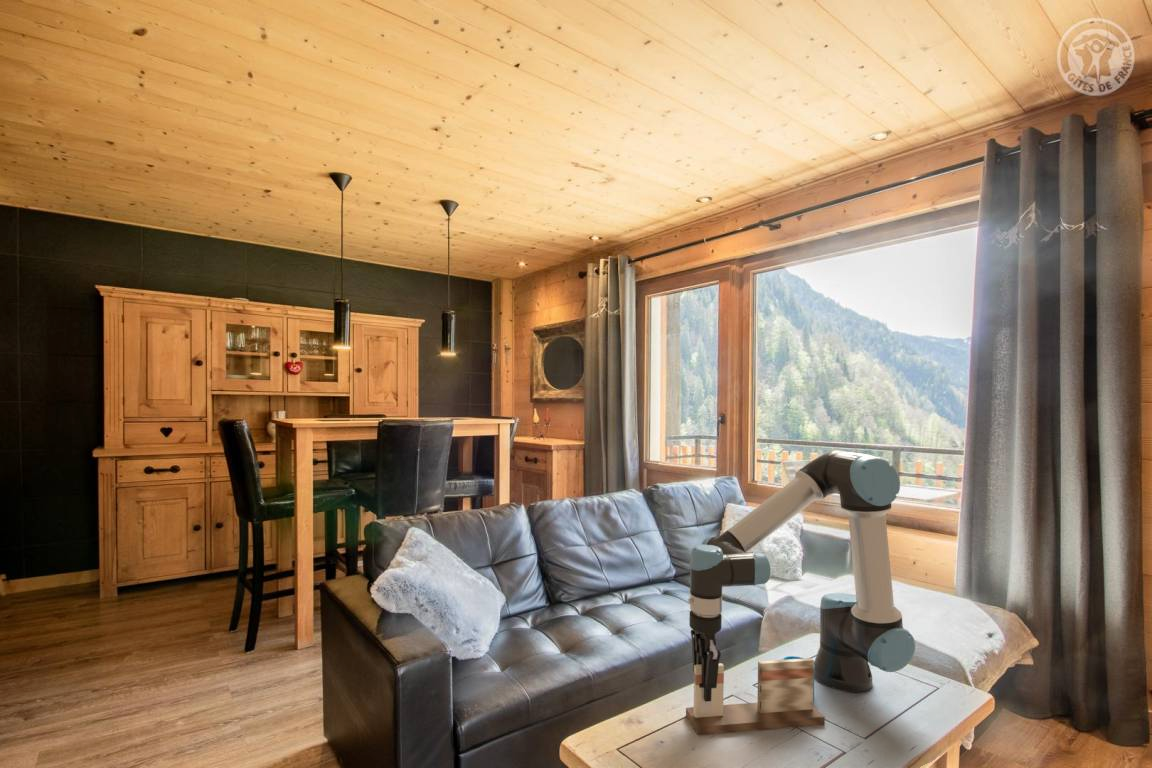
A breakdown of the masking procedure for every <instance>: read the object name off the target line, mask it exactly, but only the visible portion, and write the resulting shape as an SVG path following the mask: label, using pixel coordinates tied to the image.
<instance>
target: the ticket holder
mask: <svg viewBox="0 0 1152 768" xmlns="http://www.w3.org/2000/svg"><path fill="white" fill-rule="evenodd" d="M814 661H815V660H814V659H813V658H812V657H809V658H807V657H806V658H805V659H789V660H782V659H778V660H777V659H775V660H760V661H757V701H756V702H746V703H732V704H723V716H713V717H700V718H695V717H694V715H693V712H694V706H692V707H690V706H689V707H685V717H686V718H687V720H688V722H689V723H690V725H691V727H692V729H693V730H694V732H695V733H696V735H697V736H706V735H707V736H708V735H721V734H722V735H723V734H731V733H733V734H734V733H744V732H758V731H769V730H770V731H771V730H781V729H791V728H792V729H794V728H804V727H805V728H807V727H815V726H817V727H818V726H825V724H826V721H825V720H826V718H825V717H826V716H825V715H823V714H822V712H821V711H819V709H817V708H816V707H815V706H814V699H813V678H814V679H815V677H814Z"/></svg>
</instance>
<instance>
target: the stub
mask: <svg viewBox="0 0 1152 768" xmlns="http://www.w3.org/2000/svg"><path fill="white" fill-rule="evenodd" d="M724 672H725V666H724V663H721V662H719V666H718V676H717V687H716V688H712V713H706V714H701V713H700V687H699V684H702V664H701V665H694V672H693V707H694V712H693V715H694V717H695V718H700V717H713V716H723V705H724V691H725V690H724V685H725V679H724V677H725V676H724V675H725V673H724Z"/></svg>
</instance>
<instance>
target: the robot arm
mask: <svg viewBox="0 0 1152 768" xmlns="http://www.w3.org/2000/svg"><path fill="white" fill-rule="evenodd" d="M794 477H795V478H793V479H792V480H791V481H790V482H788V483H787V484H785V486H783V487H782V488H780V489H779V490H778V491H776V492H775V493H774V494H773V495H771V496H770V497H769V498H767V499H766V500H765V501H764V502H762V503H761V504H759V505H758V506H757V507H755V508H754V509H753V510H752V511H751V512H749V513H748V514H746V515H745V516H744V517H743V518H741V519H740V520H739V521H737V522H736V523H735V524H733V526H731V527H729V529H727V530H726V531H725V532H723V533H722V534H720V535H709V536H707V537H705V539H703V541H702V542H701V544H697V545H695V546H693V547H692V548H691V550H690V562H689V568H690V569H689V581H690V583H689V585H690V586H689V598H688V599H687V601H688V603H689V609H690V611H689V618H688V619H689V622H688V623H689V624H688V625H689V627H690V629H691V630H690V636H691V647H692V648H691V649H692V652H691V653H692V671H693V673H694V665H701V664H702V684H699V687H700V713H701V714H706V713H712V688H716V687H717V676H718V666H719V663H720V658H721V655H722V654H721V650H717V649H716V646H717V639H716V634H717V633H719V632H720V631H721V630H722V622H723V621H722V620H723V619H722V612H723V588H724V587H742V586H743V587H744V586H754V587H755V586H758V585H764V584H767V583H768V582H769V580H770V578H771V571H772V570H771V564H770V561H769V558H768V557H767V555H766V554H765V553H763V552H756V551H752V552H750V551H751V550H752V549H753V548H756V546H757V545H759V544H760V543H762V542H763V541H764V540H765V539H767V538H768V537H769V536H771V535H772V534H773V533H774V532H775V531H777V530H778V529H779V528H781V527H782V526H783V525H785V524H786V523H788V521H790V520H791V519H793V517H795V516H796V515H797V514H799V513H800V512H802V511H803V510H804V509H805V508H807V507H808V506H810V505H811V504H812V503H813V502H815V501H817V502H818V501H820V502H821V501H822V500H824V499H825V498H826V497H827V496H830V495H833V494H837V495H839V500H840V508H841V509H842V511H844V512H846V513H847V517H848V526H849V536H850V546H851V547H850V548H851V558H852V560H851V561H852V569H853V578H854V579H853V580H854V588H855V589H854V590H855V591H854V592H855V594H852V593H843V592H833V593H826V594H824V595H823V596H822V597H821V599H820V604H819V605H820V606H819V613H820V615H819V616H820V617H819V620H820V622H819V623H820V624H819V630H820V631H819V648H818V650H817V653H816V656H815V660H814V666H815V669H814V679H816V680H817V681H819V682H820V683H822V684H823V685H825V686H827V687H829V688H832V689H835V690H837V691H842V692H848V693H849V692H850V693H863V692H866V691H869V690H871V689H872V687H873V674H872V671H871V668H870V665H871V666H873V667H875V668H878V669H879V670H881V671H883V672H886V673H895V672H898V671H900V670H902V669H904V668H905V667H907V666H908V664H909V662H911V661H912V659H913V657H914V656H915V651H916V641H915V638H914V636H913V634H911V633H910V631H909V630H908V629H906V628H904V626H903V625H904V624H903V614H902V612H901V611H900V610H899V609H898V608H897V607H896V606H895V603H894V600H895V599H894V591H893V580H892V571H891V560H890V551H889V547H890V546H889V538H888V527H887V517H886V516H887V515H886V514H888V512H889V511H890V510H891V509H892V503H893V502H894V501H895V500H896V499H897V495H898V494H900V490H901V481H900V476H899V473H898V471H897V470H896V468H895V466H894V465H893V464H891V463H890V462H889V461H888V460H886V459H884V458H882V457H878V456H876V455H873V454H865V453H858V452H852V451H851V452H850V451H846V450H833V451H829V452H826V453H824V454H822V455H820V456H818V457H816V458H815V459H813V460H812V461H810V462H808V463H807V464H805V465H804V466H803V467H802V468H800V469H798V470H797V471H796V472H795V474H794Z"/></svg>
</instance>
